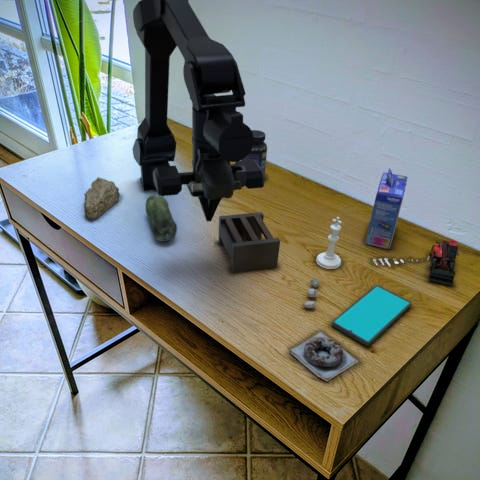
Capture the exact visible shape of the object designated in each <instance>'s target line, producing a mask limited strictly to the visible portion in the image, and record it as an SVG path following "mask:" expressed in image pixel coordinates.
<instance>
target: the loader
mask: <svg viewBox="0 0 480 480" xmlns="http://www.w3.org/2000/svg"><path fill="white" fill-rule="evenodd" d="M446 240H447V241H446ZM459 254H460V253H459V244H458V241H457V240H455V239H454V240H453V239H449V240H448V237H445V240H444V239H442V241H441V242H439V241H435V244H432V246H431V249H430V252H429V256H430V258H431V259H430V263H429V273H428V281H429V282H434V283H439V284H443V285H447V286H451V287H452V286H453V282H454V281H455V280H454V279H455V276H456V273H457V270H454V269H455V265H456V259H457V256H459ZM436 267H437V268H436Z"/></svg>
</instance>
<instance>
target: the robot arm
mask: <svg viewBox="0 0 480 480" xmlns="http://www.w3.org/2000/svg"><path fill="white" fill-rule="evenodd" d="M132 19H133V20H132V21H133V25H134V29H135V32H136V35H137V37H138V38H139V40H140V42H141V44H142V46H143V47H144V71H145V72H144V78H145V79H144V103H145V104H144V118H143V119H142V121H141V122H140V123H139V125H138V127H137V135H136V138H135V139H134V144H133V146H132V155H133V159H134V160H135V162H136V163H137V165H138V166H139V167H140V177H139V179H140V183H141V187H142V190H143V192H150V191H156V192H157V195H160V196H162V197H168V196H178V195H179V194H180V193H181V192H182V191H183V186H182V185H186V187H187V189H188V192H189V193H190V195H191V197H192V198H193V197H194V198H198V202H199V204H200V207H201V210H202V212H203V215H204V218H205V220H206V222H207V223H209V222H212V221H213V219H214V216H215V213H216V211H217V209H218V206H219V204H220V203H221V201H222V199H231V198H233V196H234V191H237V190H238V191H239V190H242V188H244V187H246V188H247V189H248V190H251V189H252V190H253V189H262V188H264V186H265V179H266V174H265V175H264V172H263V171H262V169H261V168H260V166H259V165H258V164H257V163H256V161H255V160H247V161H242V159H244V158H245V157H246V156H247V155H248V154H249V153H250V152H251V150H252V147H253V144H254V137H253V133H252V131H251V130H252V128H250V127H249V126H248V125H247V124H246V123H245V122H244V115H243V114H242V113H241V112H240V111H237V108H245V107H246V101H245V100H246V99H245V96H246V94H247V93H246V89H245V87H244V83H243V80H242V77H241V73H240V70H239V66H238V63H237V61H236V59H235V57H234V55H233V54H232V52H230V50H229V49H228V48H227V47H226V45H224V44H223V43H221V42H219V41H216V40H214V39H212V38H211V37H210V36H209V35H208V33H207V31H206V29H205V28H204V26H203V24H202V23H201V21H200V19H199V18H198V16H197V15H196V12H195V11H194V9H193V7H192V6H191V4H190V3H189V0H139V1H138V2H137V3H136V5H135V6H134V8H133V9H132ZM177 48H178V50H179V52H180V54H181V55H182V57H183V60H184V63H183V67H182V68H183V69H182V70H183V73H182V75H183V80H184V85H185V87H186V90H187V93H188V95H189V99H190V101H191V103H192V104H191V110H192V111H191V122H192V123H191V124H192V125H191V126H192V130H191V131H192V134H191V135H192V136H191V144H192V160H191V167H192V171H188V172H186V171H185V172H179V169H178V168H177V166H176V165H171V163H169V162H175V158H176V151H177V140H176V138H175V135H174V133H173V131H172V129H171V128H170V126H169V125H168V110H169V89H170V88H169V86H170V59H171V56H172V54H173V53H174V51H175V50H176V49H177ZM230 92H231V93H232V94H229V93H230ZM227 93H228V94H227ZM216 94H222V95H216Z"/></svg>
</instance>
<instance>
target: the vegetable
mask: <svg viewBox="0 0 480 480" xmlns="http://www.w3.org/2000/svg"><path fill="white" fill-rule="evenodd" d="M145 213H146V215H147V217H148V220H149V223H150V226H151V230H152V232H153V236H154V237H155V239H156V240H157V241H160V242H167V241H170V240H172V239H173V238H175V236H176V234H177V232H178V226H177V224H176V222H175V220H174V218H173V215H172V212H171V210H170V206H169V203H168V200H167V199H166V198H165V196H160V195H158V194H153V195H151V196H149V197H148V198H147V199H146V201H145Z"/></svg>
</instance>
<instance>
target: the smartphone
mask: <svg viewBox="0 0 480 480" xmlns="http://www.w3.org/2000/svg"><path fill="white" fill-rule="evenodd" d="M411 305H412V301H410V300H408V299H406V298H405V297H403V296H400V295H398V294H397V293H394V292H393V291H391V290H389V289H387V288H384V287H383V286H381V285H378V284H376V285H375V286H374V287H372V288H371V289H370V290H368V292H366V293H365V294H363V296H361V297H360V298H358V300H357V301H355V302H354V303H352V304H351V305H350V306H348V308H347V309H345V310H344V311H343V312H341V314H339V315H338V316H337V317H336V318H334V319H333V320H332V322H331V326H332V327H333V328H335V329H337V330H338V331H340V332H341V333H343V334H345V335H347V336H349V337H350V338H352V339H354V340H356V341H357V342H358V343H360V344H362V345H364V346H365V347H368V346H370V345H371V344H372V343H373V342H374V341H375V340H377V339H378V338H379V337H380V336H381V335H382V334H383V333H384V332H385V331H386V330H387V329H388V328H389V327H390V326H391V325H393V323H395V322H396V320H398V319H399V318H400V317H401V316H402V315H403V314H404V313H406V312H407V310H409V308H410V307H411Z"/></svg>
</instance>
